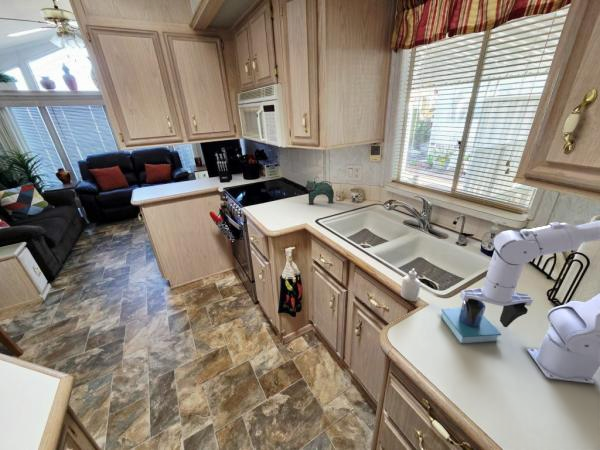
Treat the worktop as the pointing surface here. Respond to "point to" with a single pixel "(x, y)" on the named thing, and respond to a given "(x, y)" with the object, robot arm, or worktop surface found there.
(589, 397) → the worktop surface
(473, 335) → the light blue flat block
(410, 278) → the eye dropper bottle
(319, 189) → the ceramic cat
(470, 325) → the cup
